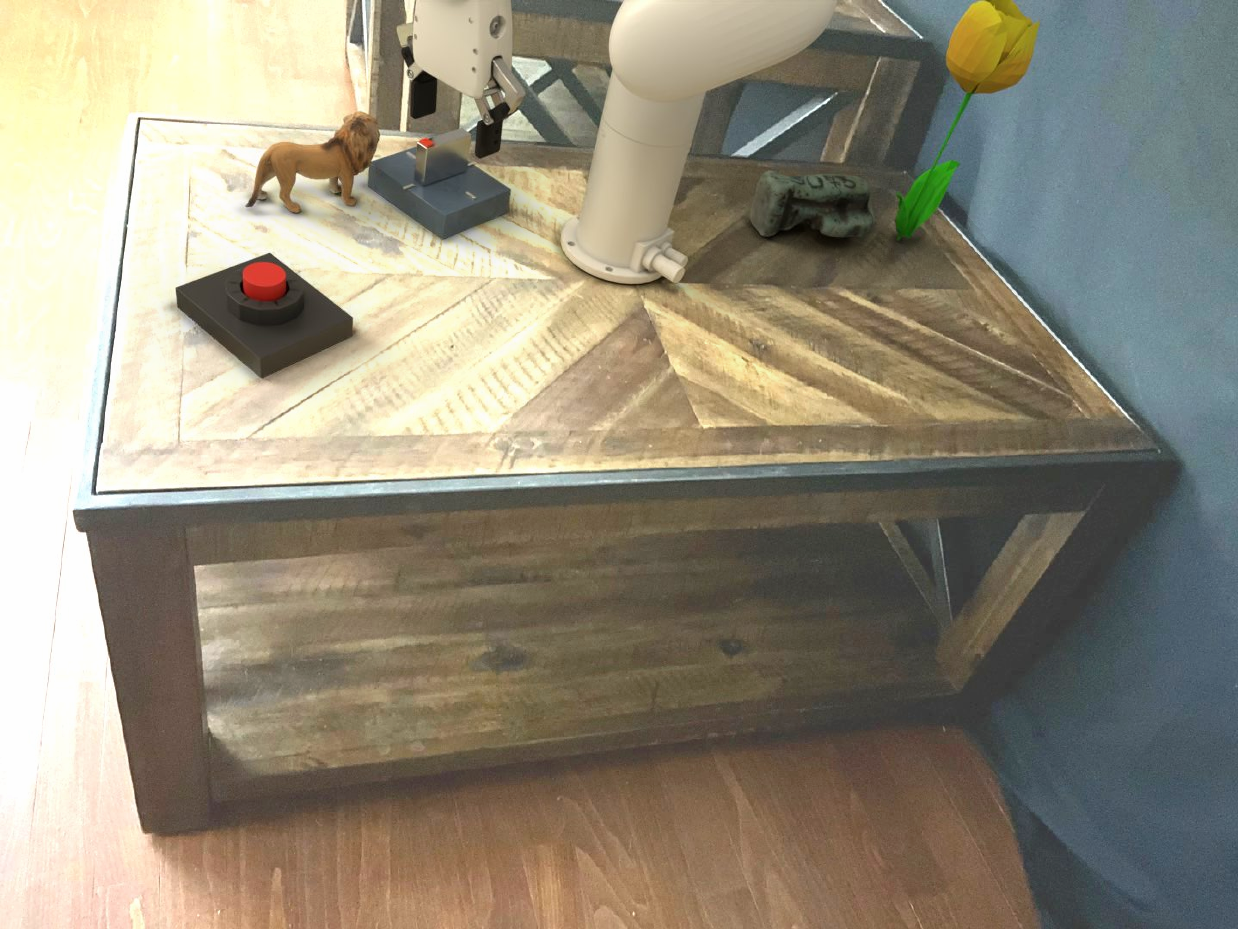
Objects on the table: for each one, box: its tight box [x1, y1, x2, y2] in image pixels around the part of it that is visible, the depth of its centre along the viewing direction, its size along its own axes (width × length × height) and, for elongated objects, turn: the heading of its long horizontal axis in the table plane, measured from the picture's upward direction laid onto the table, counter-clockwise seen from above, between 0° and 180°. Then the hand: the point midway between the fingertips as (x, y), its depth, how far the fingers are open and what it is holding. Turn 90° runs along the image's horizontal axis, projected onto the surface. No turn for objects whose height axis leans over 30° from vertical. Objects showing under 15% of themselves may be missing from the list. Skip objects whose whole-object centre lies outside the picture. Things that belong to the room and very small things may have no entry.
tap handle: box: [414, 127, 473, 186], centre depth 110 cm, size 6×2×5 cm, turn 140°
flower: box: [894, 0, 1041, 241], centre depth 120 cm, size 9×8×30 cm
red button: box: [243, 262, 286, 301], centre depth 90 cm, size 4×4×2 cm
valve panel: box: [367, 146, 512, 240], centre depth 113 cm, size 12×11×3 cm
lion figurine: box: [245, 110, 381, 213], centre depth 105 cm, size 15×5×9 cm, turn 129°
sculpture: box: [749, 170, 876, 238], centre depth 125 cm, size 12×8×15 cm
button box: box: [175, 252, 354, 379], centre depth 92 cm, size 12×10×4 cm
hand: (454, 134), depth 108 cm, fingers open, 9 cm apart
